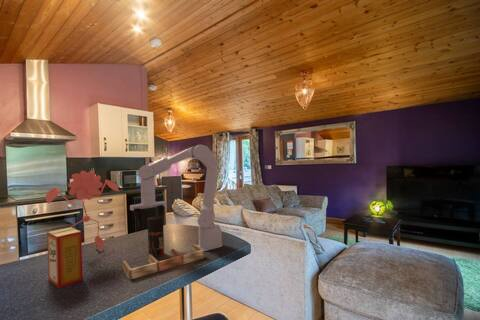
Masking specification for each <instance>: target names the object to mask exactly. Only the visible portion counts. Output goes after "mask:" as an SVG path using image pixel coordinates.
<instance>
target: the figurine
mask: <svg viewBox="0 0 480 320" xmlns="http://www.w3.org/2000/svg"><path fill="white" fill-rule="evenodd" d="M101 178H102V177H101V176H100V175H96V173H95V170H93V169H91V170H89V171H88V172H87V171H85V170H81V171H80V173H73V174H72V175H71V179H72V181H70V182H69V183H68V184H67V185H68V187H69V188H70V189H69V191H68V194H69V195H70V196H76V198H75V199H71V200H69V199H68V197H65V196H64V194H63V193H62V192H61V191H59V189H58V188H57V187H56V186H54V187H53V188H51V189H50V190H48V192H47V193H46V194H45V201H46V203H47V204H50V203H52V202H53V201H54V200H56V198H57V197H58V196H59V195H60V196H61V197H62V198H63V199H65V200H66V201H67V202H68V203H73V202H74V201H75V202H76V201H82V207H83V210H84V214H85V215H84V216H83V217H82V220H80V221H78V222H77V223H74V224H73V225H70V227H71V228H73V227H74V226H76V225H78V224H80V223H82V222H85V223H87V222H90V221H92V222H96V223H97V235H95V237H94V244H95V246H94V249H95V250H96V249H97V248H99V249H100V250H103V251H105V242H104V240H103V239H102V237H100V236H99V235H100V234H99V229H100V228H99V227H100V225H99V224H100V222H99V221H98V220H95V219H93V218H91V216H90V215H88V214H87V210H86V206H85V200H89V201H90V200H92V199H93V198H100V196H101V195H102V193H103V190H104V188H105V186H106V185H107V186H108V188H110V189H111V190H113V191H114V192H118V193H119V192H120V189H119V187H118V185H117V183H115V182H113V181H112V180H109V179H105V182H104V184H103V182H102V181H101ZM100 188H101V189H100ZM70 227H69V228H70ZM112 253H113V254H114V251H112V252H111V253H109V255H112ZM107 256H108V255H105V256H102V257H99V258H95V259H94V260H99V259H102V258H105V257H107ZM92 261H93V259H92V260H90V262H92ZM88 262H89V260H85V263H88Z"/></svg>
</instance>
